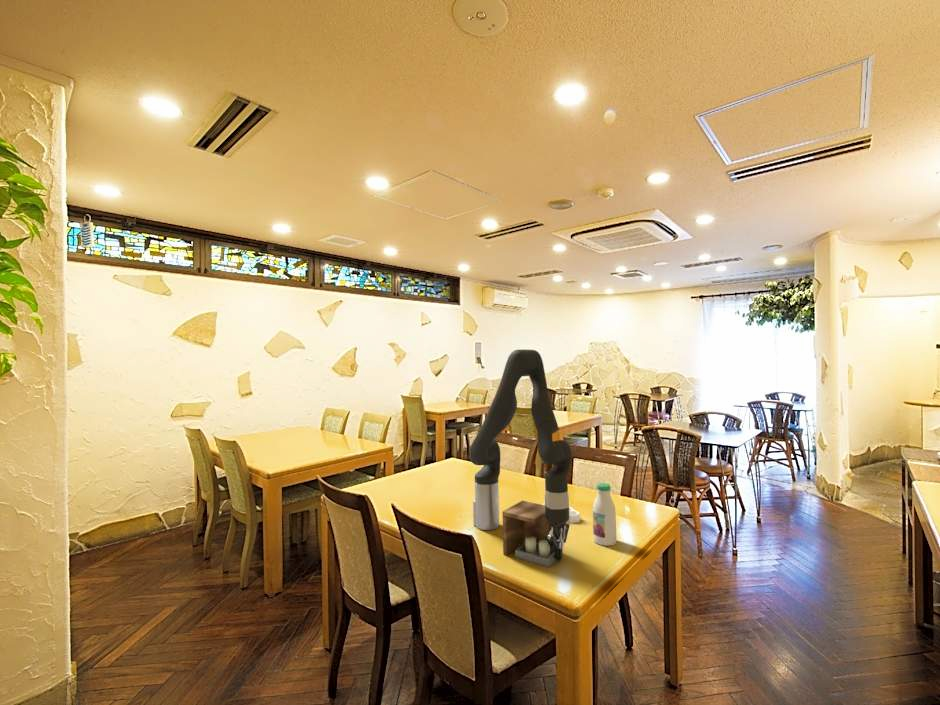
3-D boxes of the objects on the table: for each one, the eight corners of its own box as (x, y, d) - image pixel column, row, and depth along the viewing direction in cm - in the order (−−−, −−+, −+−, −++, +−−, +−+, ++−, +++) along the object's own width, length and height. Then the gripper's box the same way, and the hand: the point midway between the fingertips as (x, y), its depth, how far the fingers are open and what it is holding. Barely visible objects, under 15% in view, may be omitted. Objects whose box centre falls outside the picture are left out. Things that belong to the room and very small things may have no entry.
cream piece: (537, 558, 135) (536, 542, 135) (542, 554, 138) (541, 538, 138) (547, 561, 133) (546, 545, 133) (552, 557, 136) (551, 541, 136)
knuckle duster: (529, 515, 174) (554, 507, 183) (562, 529, 160) (587, 519, 168) (529, 507, 174) (554, 499, 183) (562, 520, 160) (587, 511, 168)
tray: (515, 558, 137) (515, 550, 137) (528, 548, 144) (528, 540, 144) (548, 569, 130) (548, 559, 130) (561, 557, 137) (560, 549, 137)
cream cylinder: (523, 554, 138) (522, 538, 138) (528, 550, 141) (528, 535, 141) (532, 557, 136) (532, 541, 136) (538, 552, 139) (538, 537, 139)
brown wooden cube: (503, 554, 139) (502, 511, 139) (523, 540, 149) (522, 500, 149) (535, 564, 132) (534, 519, 132) (553, 549, 142) (552, 507, 142)
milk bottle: (611, 536, 151) (610, 481, 151) (620, 546, 143) (618, 487, 144) (590, 537, 151) (589, 481, 151) (597, 546, 143) (596, 488, 143)
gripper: (555, 496, 141) (556, 548, 140) (536, 508, 130) (538, 564, 130) (576, 500, 136) (578, 554, 136) (558, 512, 126) (560, 571, 125)
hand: (558, 559), depth 133 cm, fingers closed
